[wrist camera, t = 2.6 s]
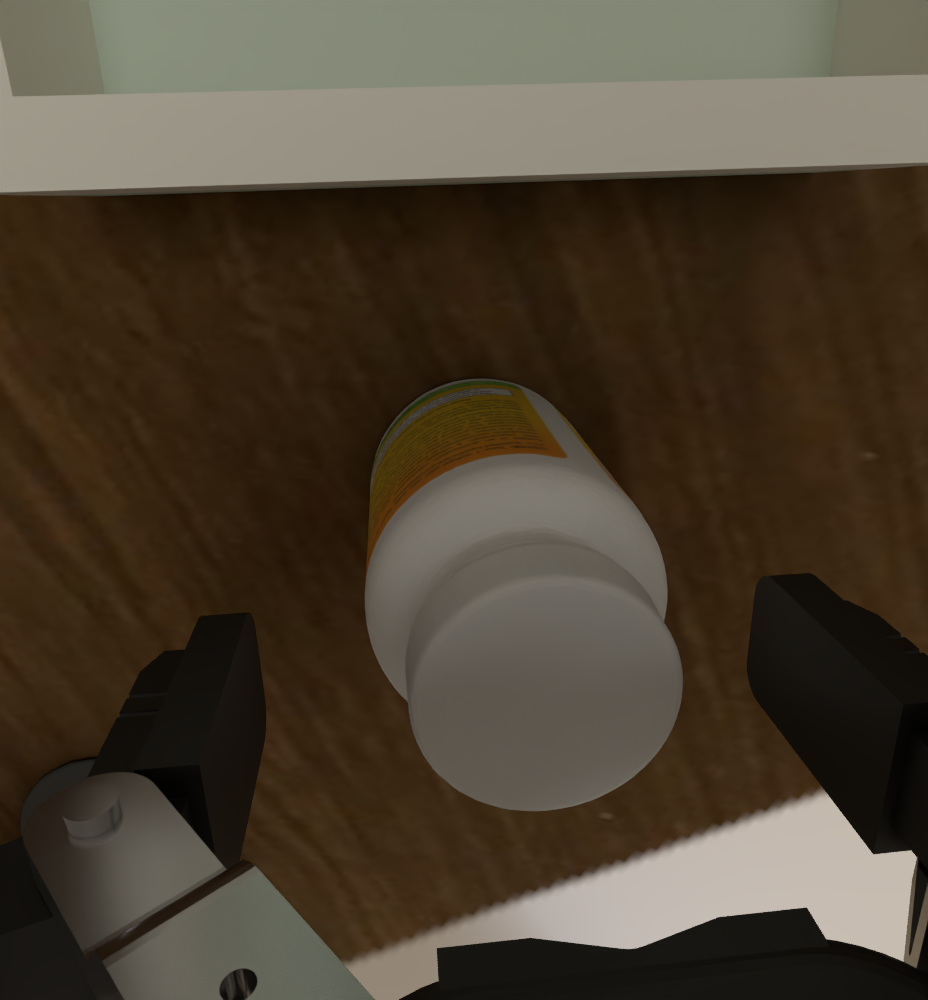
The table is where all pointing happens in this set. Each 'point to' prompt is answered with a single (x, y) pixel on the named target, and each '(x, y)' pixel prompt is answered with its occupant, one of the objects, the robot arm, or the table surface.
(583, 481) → the supplement bottle
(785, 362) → the table surface
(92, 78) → the bore box
